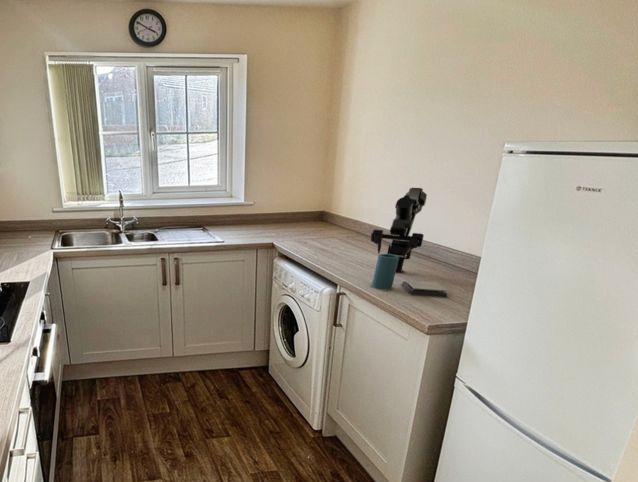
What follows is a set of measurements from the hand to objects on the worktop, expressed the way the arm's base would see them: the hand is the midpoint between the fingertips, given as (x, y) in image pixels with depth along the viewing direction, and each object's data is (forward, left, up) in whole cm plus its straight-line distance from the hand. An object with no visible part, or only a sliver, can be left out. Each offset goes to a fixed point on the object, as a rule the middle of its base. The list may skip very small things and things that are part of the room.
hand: (390, 254), depth 186 cm
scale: (+7, +13, -12) cm, 19 cm away
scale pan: (+8, +13, -10) cm, 18 cm away
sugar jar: (+6, -2, -12) cm, 14 cm away
